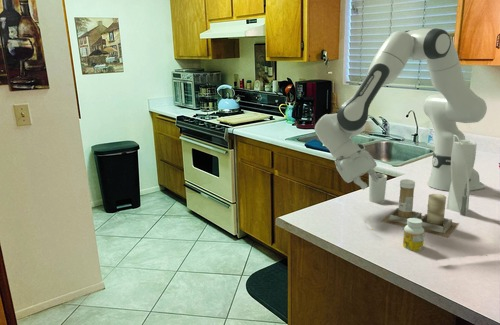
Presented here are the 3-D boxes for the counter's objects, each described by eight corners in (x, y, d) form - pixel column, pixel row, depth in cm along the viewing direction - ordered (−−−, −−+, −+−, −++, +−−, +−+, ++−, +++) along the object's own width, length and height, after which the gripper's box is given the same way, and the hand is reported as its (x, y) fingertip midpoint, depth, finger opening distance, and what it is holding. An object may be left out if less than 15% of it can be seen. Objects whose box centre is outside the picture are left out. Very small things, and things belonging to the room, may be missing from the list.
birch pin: (437, 222, 132) (439, 193, 130) (446, 228, 127) (449, 198, 125) (423, 223, 131) (425, 194, 129) (431, 229, 127) (434, 199, 124)
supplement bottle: (425, 255, 114) (428, 224, 111) (406, 255, 114) (409, 224, 111) (418, 246, 119) (420, 216, 116) (399, 247, 119) (402, 216, 117)
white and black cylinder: (364, 200, 158) (365, 176, 155) (372, 196, 162) (374, 172, 160) (380, 204, 153) (381, 179, 151) (388, 199, 158) (390, 175, 155)
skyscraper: (439, 213, 143) (447, 136, 136) (449, 207, 148) (457, 132, 141) (463, 220, 137) (473, 139, 130) (474, 213, 142) (483, 136, 135)
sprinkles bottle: (395, 216, 137) (397, 179, 134) (407, 216, 138) (410, 178, 134) (401, 222, 133) (404, 183, 129) (414, 221, 133) (417, 182, 130)
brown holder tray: (380, 225, 134) (380, 216, 134) (394, 213, 144) (395, 204, 143) (447, 242, 121) (448, 231, 120) (458, 227, 131) (459, 218, 130)
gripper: (338, 154, 134) (365, 187, 131) (365, 143, 150) (389, 172, 146) (326, 165, 138) (352, 197, 135) (353, 153, 153) (376, 182, 150)
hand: (371, 184), depth 140 cm, fingers open, 8 cm apart
